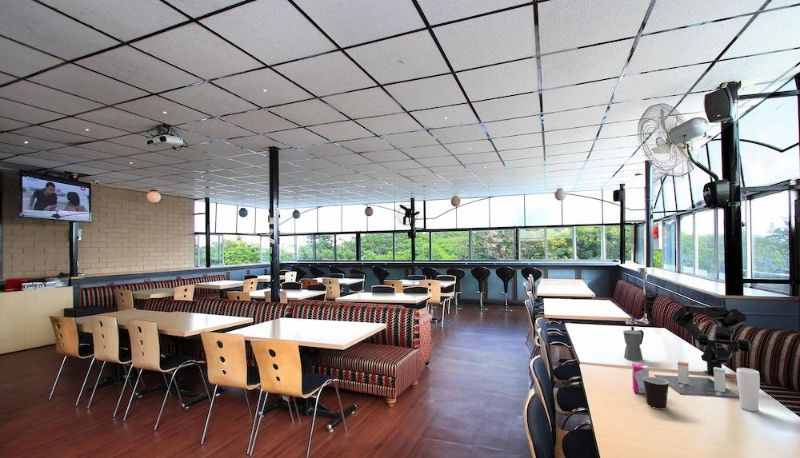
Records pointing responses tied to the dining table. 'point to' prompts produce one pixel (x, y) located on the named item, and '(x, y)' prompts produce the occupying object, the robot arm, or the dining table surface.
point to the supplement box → (639, 377)
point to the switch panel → (696, 387)
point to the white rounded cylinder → (748, 388)
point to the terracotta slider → (683, 372)
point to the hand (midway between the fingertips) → (722, 358)
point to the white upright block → (719, 379)
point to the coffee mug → (656, 391)
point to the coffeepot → (633, 344)
